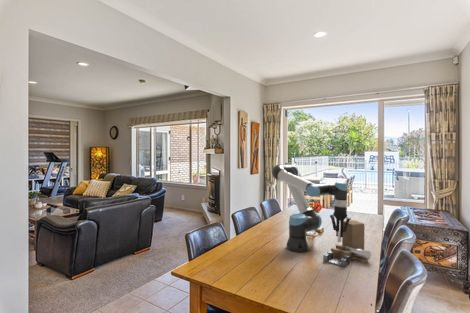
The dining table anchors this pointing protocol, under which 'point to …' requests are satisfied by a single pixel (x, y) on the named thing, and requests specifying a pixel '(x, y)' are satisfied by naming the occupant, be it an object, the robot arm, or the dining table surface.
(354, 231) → the wooden block
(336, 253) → the wooden clevis bracket
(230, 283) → the dining table surface
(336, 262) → the v block
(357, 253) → the axle
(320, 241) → the dining table surface
